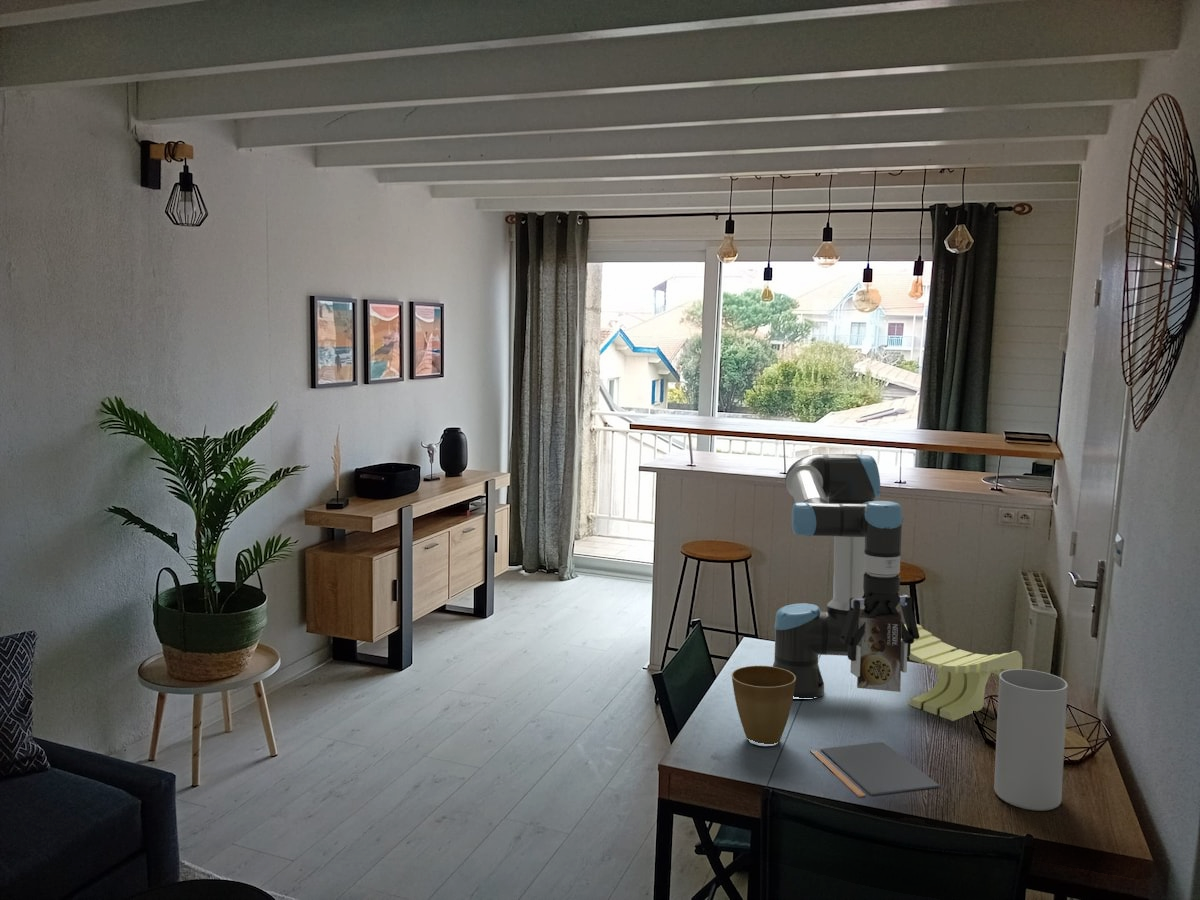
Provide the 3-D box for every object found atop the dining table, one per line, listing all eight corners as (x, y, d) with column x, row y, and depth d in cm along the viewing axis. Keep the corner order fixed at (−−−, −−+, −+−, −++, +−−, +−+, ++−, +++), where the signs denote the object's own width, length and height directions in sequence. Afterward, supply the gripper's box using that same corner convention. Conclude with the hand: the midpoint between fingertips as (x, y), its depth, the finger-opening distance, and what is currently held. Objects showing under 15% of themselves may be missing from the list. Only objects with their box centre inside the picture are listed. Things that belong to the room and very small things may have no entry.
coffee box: (899, 682, 196) (902, 611, 194) (900, 693, 190) (903, 619, 188) (856, 678, 198) (858, 607, 197) (856, 688, 192) (858, 615, 191)
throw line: (809, 751, 204) (809, 750, 204) (815, 750, 205) (815, 749, 204) (858, 797, 183) (858, 795, 183) (865, 796, 183) (865, 794, 183)
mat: (820, 750, 205) (820, 748, 205) (883, 743, 208) (883, 741, 208) (870, 795, 184) (870, 793, 183) (939, 787, 187) (939, 785, 187)
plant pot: (794, 730, 216) (795, 667, 214) (794, 757, 201) (796, 689, 200) (732, 725, 219) (733, 662, 217) (728, 751, 204) (729, 684, 203)
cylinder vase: (1006, 777, 192) (1011, 664, 189) (1069, 796, 183) (1075, 679, 181) (984, 797, 183) (989, 680, 180) (1049, 819, 174) (1056, 696, 172)
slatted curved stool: (1019, 717, 224) (1023, 648, 222) (984, 732, 215) (987, 661, 213) (916, 682, 248) (918, 620, 247) (880, 694, 239) (882, 630, 237)
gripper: (841, 580, 185) (838, 682, 188) (939, 574, 190) (935, 674, 193) (824, 572, 193) (822, 670, 195) (919, 566, 198) (915, 662, 200)
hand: (878, 672), depth 194 cm, fingers closed on coffee box, 10 cm apart
